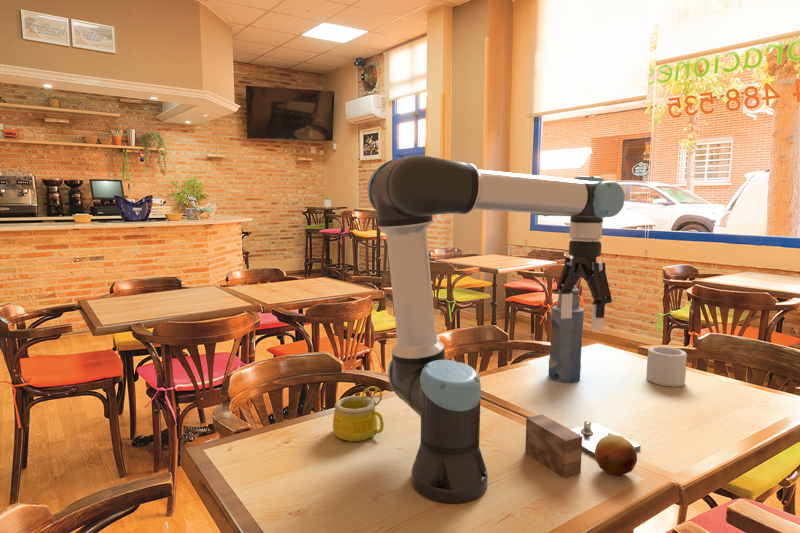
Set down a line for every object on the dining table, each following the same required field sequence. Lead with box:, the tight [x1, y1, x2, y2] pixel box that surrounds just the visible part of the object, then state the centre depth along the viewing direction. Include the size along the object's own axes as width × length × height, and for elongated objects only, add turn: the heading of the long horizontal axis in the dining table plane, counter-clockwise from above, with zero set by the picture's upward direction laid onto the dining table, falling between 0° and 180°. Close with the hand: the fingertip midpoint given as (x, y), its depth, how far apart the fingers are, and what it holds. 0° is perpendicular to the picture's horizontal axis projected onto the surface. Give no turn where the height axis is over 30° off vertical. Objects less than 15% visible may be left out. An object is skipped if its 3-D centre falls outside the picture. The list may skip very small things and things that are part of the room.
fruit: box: [594, 434, 638, 477], centre depth 102 cm, size 8×8×8 cm
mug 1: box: [332, 385, 385, 442], centre depth 119 cm, size 13×11×12 cm
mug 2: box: [645, 345, 688, 388], centre depth 157 cm, size 14×11×10 cm
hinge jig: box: [569, 420, 641, 458], centre depth 116 cm, size 12×13×4 cm
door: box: [524, 414, 583, 479], centre depth 107 cm, size 12×4×8 cm, turn 26°
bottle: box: [548, 285, 585, 383], centre depth 158 cm, size 10×10×30 cm
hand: (580, 324), depth 125 cm, fingers open, 13 cm apart
